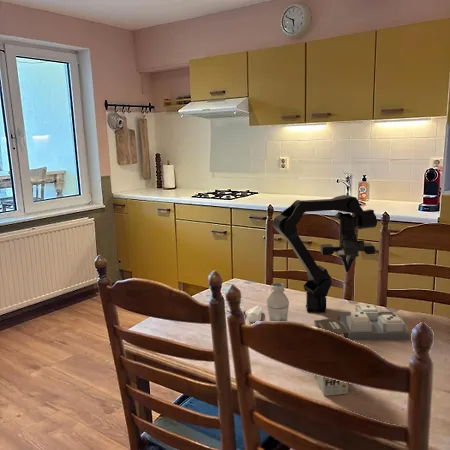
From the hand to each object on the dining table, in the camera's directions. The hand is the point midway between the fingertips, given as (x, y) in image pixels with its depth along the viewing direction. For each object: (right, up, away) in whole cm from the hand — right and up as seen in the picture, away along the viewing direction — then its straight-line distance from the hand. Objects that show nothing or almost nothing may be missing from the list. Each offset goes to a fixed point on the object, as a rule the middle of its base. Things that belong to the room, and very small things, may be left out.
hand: (347, 271), depth 160 cm
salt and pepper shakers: (-36, -16, -4) cm, 40 cm away
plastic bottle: (-29, -20, -29) cm, 45 cm away
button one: (+3, -13, -13) cm, 19 cm away
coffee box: (-18, -24, -49) cm, 58 cm away
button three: (+8, -15, -22) cm, 28 cm away
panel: (+3, -17, -17) cm, 24 cm away
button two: (-2, -14, -22) cm, 26 cm away
